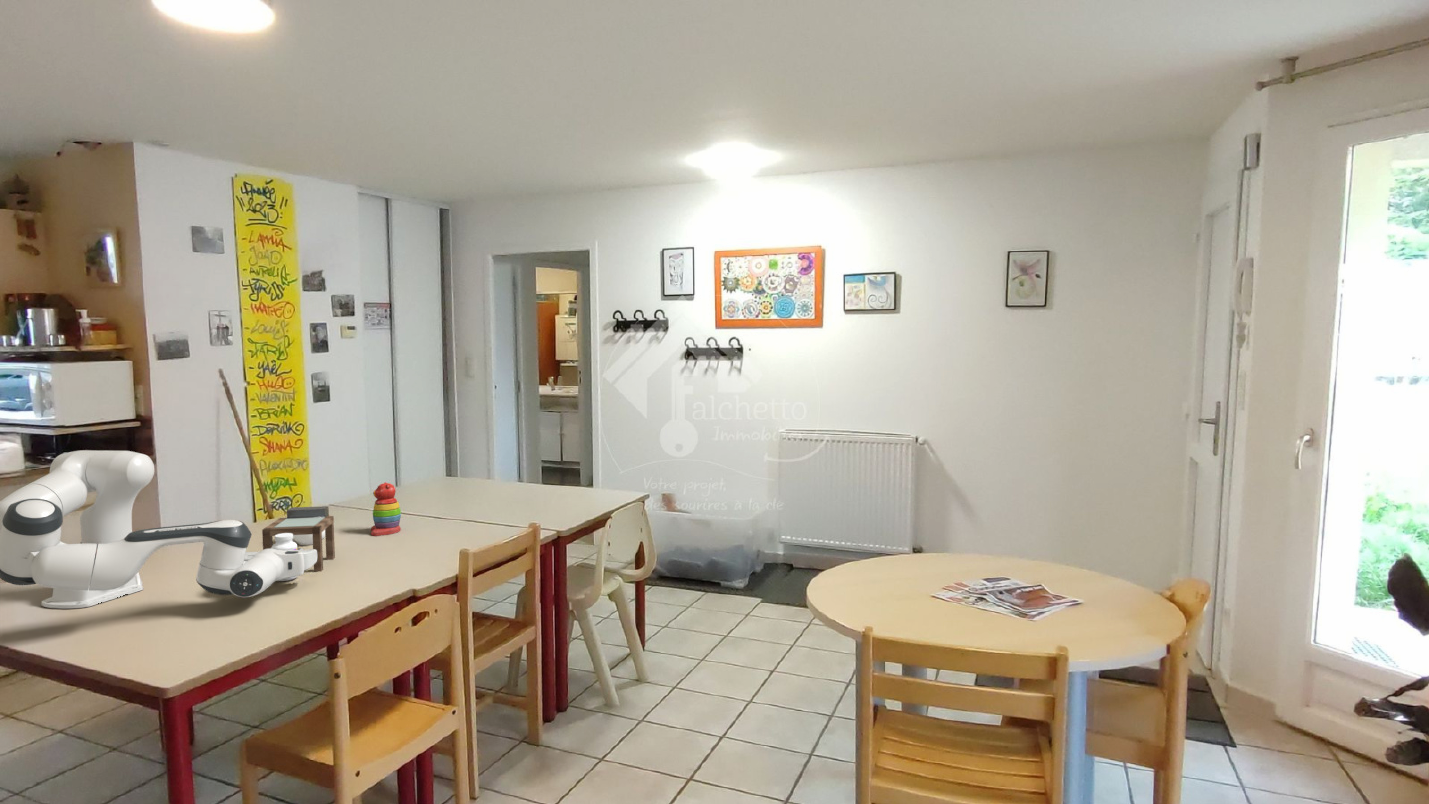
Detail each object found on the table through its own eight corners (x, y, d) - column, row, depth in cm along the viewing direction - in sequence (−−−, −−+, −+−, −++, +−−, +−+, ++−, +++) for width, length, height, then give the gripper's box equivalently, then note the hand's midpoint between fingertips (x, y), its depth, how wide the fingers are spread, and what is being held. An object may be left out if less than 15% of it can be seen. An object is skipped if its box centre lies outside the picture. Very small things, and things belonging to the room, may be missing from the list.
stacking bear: (370, 529, 278) (369, 481, 277) (400, 526, 283) (399, 479, 281) (371, 536, 269) (369, 487, 267) (402, 533, 273) (400, 484, 271)
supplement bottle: (290, 582, 218) (288, 538, 217) (267, 581, 218) (265, 537, 217) (303, 574, 224) (301, 532, 223) (281, 574, 225) (279, 531, 223)
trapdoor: (291, 526, 243) (291, 507, 242) (329, 524, 245) (328, 506, 245) (274, 538, 228) (273, 519, 227) (314, 536, 230) (313, 517, 230)
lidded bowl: (338, 538, 266) (337, 507, 265) (315, 548, 254) (314, 515, 253) (304, 537, 268) (303, 506, 267) (280, 546, 255) (279, 514, 254)
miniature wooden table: (281, 560, 240) (279, 518, 239) (335, 557, 243) (333, 515, 242) (264, 574, 226) (262, 529, 225) (321, 571, 229) (319, 527, 228)
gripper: (226, 579, 206) (246, 564, 220) (308, 574, 210) (323, 560, 224) (225, 556, 205) (245, 542, 219) (307, 552, 210) (322, 539, 223)
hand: (285, 551), depth 221 cm, fingers closed on supplement bottle, 7 cm apart
